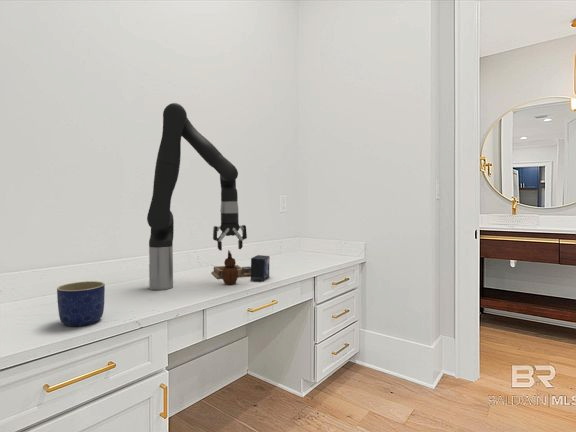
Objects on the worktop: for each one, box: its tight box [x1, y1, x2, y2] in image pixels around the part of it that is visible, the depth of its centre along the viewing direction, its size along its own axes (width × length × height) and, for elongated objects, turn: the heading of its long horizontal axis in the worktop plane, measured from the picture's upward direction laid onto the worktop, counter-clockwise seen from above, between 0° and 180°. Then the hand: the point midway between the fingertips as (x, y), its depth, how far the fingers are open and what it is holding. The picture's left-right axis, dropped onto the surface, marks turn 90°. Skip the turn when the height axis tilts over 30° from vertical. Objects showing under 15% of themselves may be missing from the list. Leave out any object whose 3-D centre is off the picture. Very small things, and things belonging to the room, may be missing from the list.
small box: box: [250, 254, 270, 283], centre depth 172 cm, size 11×6×10 cm, turn 168°
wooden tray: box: [211, 264, 251, 280], centre depth 182 cm, size 20×14×4 cm
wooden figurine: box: [222, 250, 239, 286], centre depth 162 cm, size 7×6×15 cm
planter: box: [56, 280, 106, 327], centre depth 111 cm, size 12×12×11 cm
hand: (230, 249), depth 161 cm, fingers open, 8 cm apart
